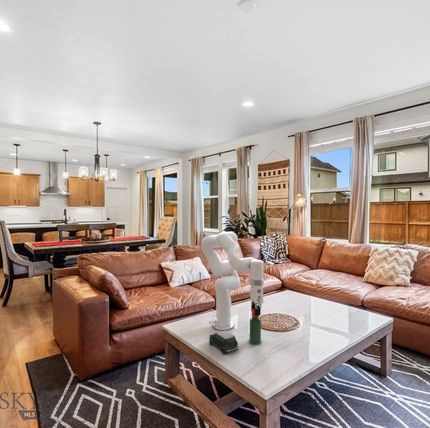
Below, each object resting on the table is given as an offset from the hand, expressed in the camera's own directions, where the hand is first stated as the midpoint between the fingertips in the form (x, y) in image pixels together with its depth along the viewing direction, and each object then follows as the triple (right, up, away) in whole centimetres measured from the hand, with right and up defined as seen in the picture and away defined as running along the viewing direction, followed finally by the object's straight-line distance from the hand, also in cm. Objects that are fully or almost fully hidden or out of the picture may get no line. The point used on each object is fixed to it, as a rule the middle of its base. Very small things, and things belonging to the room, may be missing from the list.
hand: (255, 312), depth 168 cm
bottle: (0, -17, +1) cm, 17 cm away
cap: (0, -2, 0) cm, 2 cm away
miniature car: (-18, -17, -5) cm, 25 cm away
